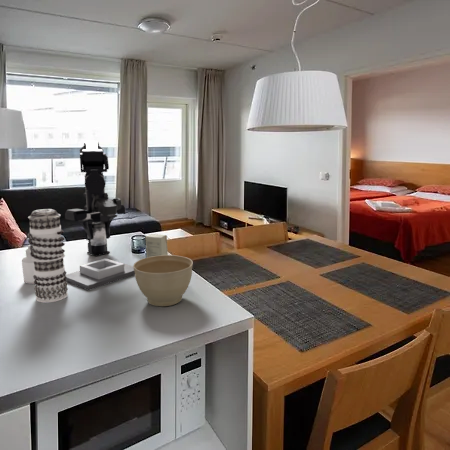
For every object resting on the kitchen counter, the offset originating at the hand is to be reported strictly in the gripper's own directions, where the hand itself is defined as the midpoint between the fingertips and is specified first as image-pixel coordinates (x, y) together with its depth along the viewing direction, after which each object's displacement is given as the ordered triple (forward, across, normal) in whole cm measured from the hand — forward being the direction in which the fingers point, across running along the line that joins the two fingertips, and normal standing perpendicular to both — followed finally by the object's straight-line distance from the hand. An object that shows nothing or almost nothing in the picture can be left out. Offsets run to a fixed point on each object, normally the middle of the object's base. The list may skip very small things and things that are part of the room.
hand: (98, 237), depth 122 cm
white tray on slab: (+13, 0, -1) cm, 13 cm away
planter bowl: (+14, -1, -31) cm, 34 cm away
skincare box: (+13, +16, -10) cm, 23 cm away
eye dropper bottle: (+13, -17, +11) cm, 24 cm away
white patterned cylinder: (+13, -19, -4) cm, 24 cm away
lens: (+2, 0, 0) cm, 2 cm away
